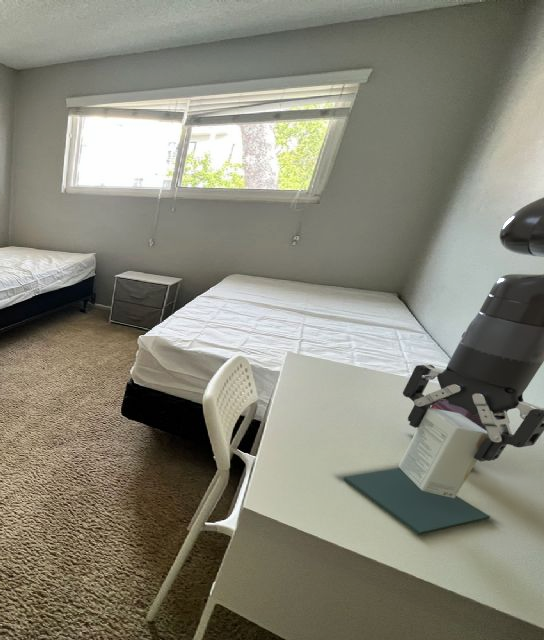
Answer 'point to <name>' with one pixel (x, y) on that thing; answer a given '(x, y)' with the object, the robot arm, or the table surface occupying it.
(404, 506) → the desk mat
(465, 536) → the table surface
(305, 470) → the table surface
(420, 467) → the cosmetic box
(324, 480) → the table surface
